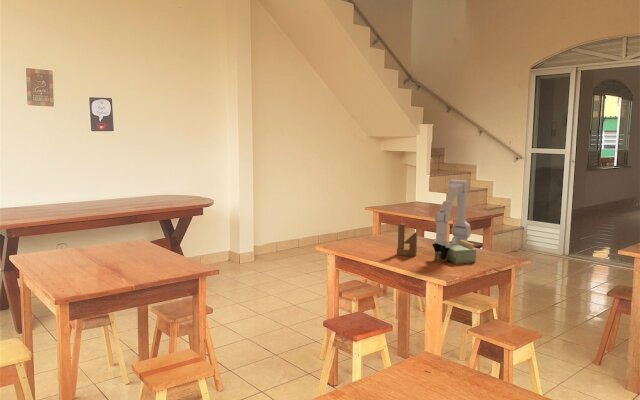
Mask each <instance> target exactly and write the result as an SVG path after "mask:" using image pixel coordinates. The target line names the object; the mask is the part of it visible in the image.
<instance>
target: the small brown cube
mask: <svg viewBox="0 0 640 400" xmlns="http://www.w3.org/2000/svg"><path fill="white" fill-rule="evenodd" d="M434 261H435V262H437V263H445V262H447V261H448V260H447V256H446V259H441V251H436V252H435V251H434Z"/></svg>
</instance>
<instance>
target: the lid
mask: <svg viewBox="0 0 640 400" xmlns="http://www.w3.org/2000/svg"><path fill="white" fill-rule="evenodd" d="M449 244H450V249H449V251H448V253H447V255H449V256H451V257H454V258H456V252H470V251H476V252H477V249H476V248H475V247H474V246H475V244H474V243H471V242H469V241H467V242H466V241H464V240H460V243H457V244H452V243H449ZM442 247H443V246H442Z"/></svg>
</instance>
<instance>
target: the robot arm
mask: <svg viewBox="0 0 640 400" xmlns="http://www.w3.org/2000/svg"><path fill="white" fill-rule="evenodd" d="M447 185H448V192H447V196H446V199H445V200H444V201H442V204H441V206H440V208H439V210H438V211H436V213H435V215H434V221H435V226H436V229H435V230H436V231H435V234H436V236H435V238H432V247H433V250H434V253H435V252H436V251H441V259H446V256H447V253H448V251H449V249H450V244H457V243H460V240H464V241H466V242H468V238H470V236H471V233H472V230H471V224H470V223H469V222H467V219H466V218H467V217H466V216H467V194H469V188H470V187H469V186H470V185H469V181H468V180H467V179H465V180H461V179H460V180H459V179H451V178H450V180H449V181H448V184H447ZM456 198H457V199H456ZM455 199H456V221H455V222H454V223H453V224H452V228H451V234H452V236H453V237H452V238H451V243H449V242H448V241H447V239H448V223H449V221H450V218H451V211H452V209H453V206H454V204H453V202H454V200H455ZM442 246H443V247H442Z"/></svg>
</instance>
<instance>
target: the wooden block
mask: <svg viewBox="0 0 640 400" xmlns="http://www.w3.org/2000/svg"><path fill="white" fill-rule="evenodd" d="M405 225H406V224H405V223H398V226H397V233H398V234H397V248H396V256H405V257H414V258H415V257H416V256H417V247H418V245H417V243H418V231H415V232H414V233H413V234H412V235H411V236H410V237H408V239H406V240H405V234H406V233H405V230H406V228H405ZM405 244H406V245H407V244H408V247H409V248H405Z"/></svg>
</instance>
